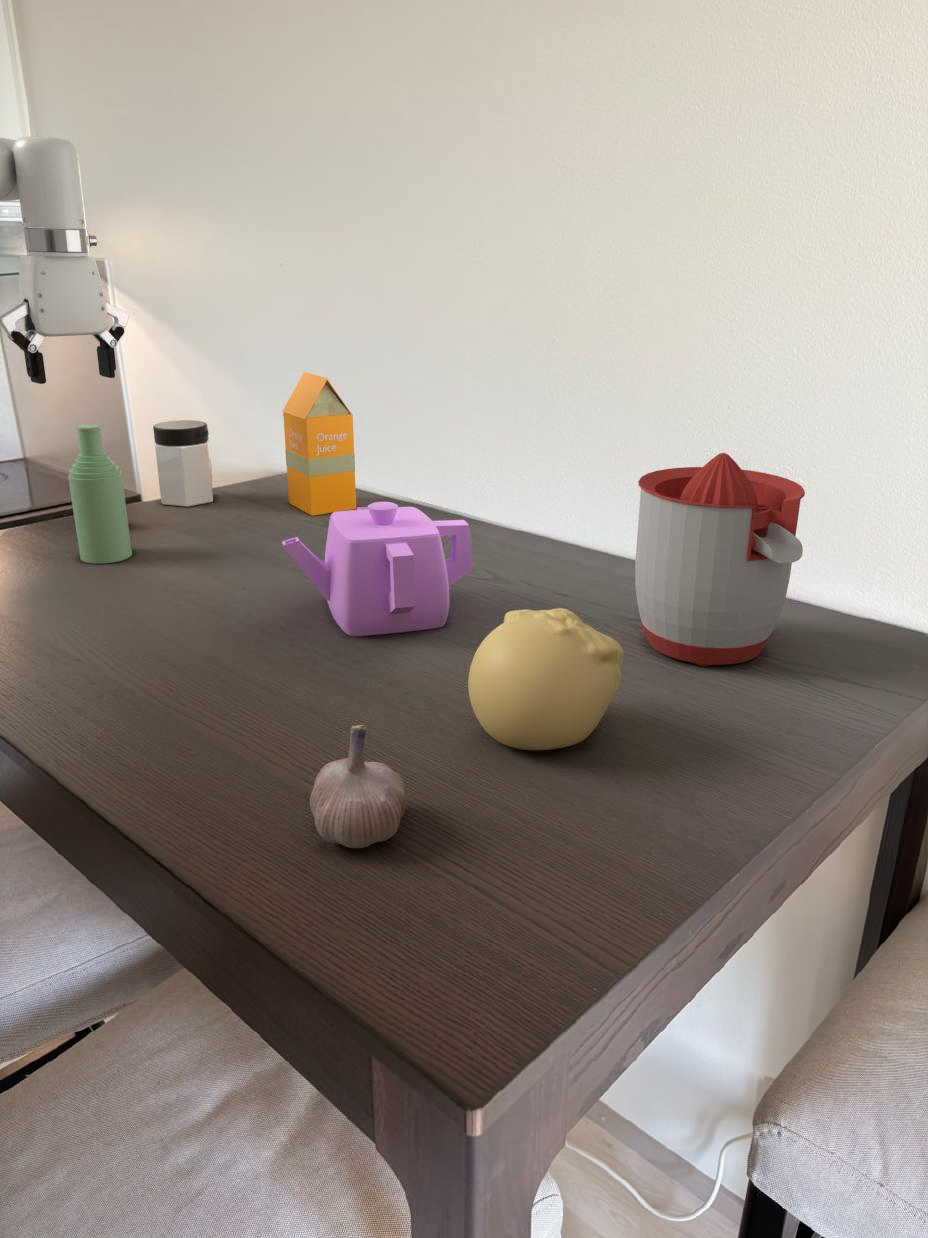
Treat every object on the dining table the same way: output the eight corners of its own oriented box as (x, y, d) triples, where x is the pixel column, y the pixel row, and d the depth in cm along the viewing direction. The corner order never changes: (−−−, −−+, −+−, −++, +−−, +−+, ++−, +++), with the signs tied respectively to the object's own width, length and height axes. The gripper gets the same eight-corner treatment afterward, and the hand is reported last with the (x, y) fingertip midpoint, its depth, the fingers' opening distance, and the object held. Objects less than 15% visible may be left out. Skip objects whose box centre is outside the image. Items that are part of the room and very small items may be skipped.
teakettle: (412, 652, 96) (410, 534, 92) (277, 622, 104) (269, 512, 99) (487, 600, 110) (488, 496, 106) (363, 577, 118) (360, 478, 113)
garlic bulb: (364, 787, 72) (361, 692, 70) (435, 824, 68) (434, 724, 65) (286, 830, 67) (278, 729, 64) (357, 873, 63) (352, 766, 60)
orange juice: (332, 496, 155) (326, 370, 147) (357, 508, 148) (352, 376, 140) (287, 503, 151) (279, 373, 143) (310, 515, 144) (303, 380, 136)
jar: (214, 505, 149) (207, 428, 145) (159, 508, 147) (150, 430, 143) (214, 492, 157) (208, 418, 153) (163, 494, 155) (155, 420, 151)
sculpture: (637, 732, 81) (647, 614, 77) (541, 783, 73) (546, 654, 69) (537, 689, 89) (541, 579, 85) (441, 731, 81) (441, 612, 77)
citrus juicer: (714, 698, 87) (738, 482, 80) (596, 634, 101) (607, 446, 94) (830, 662, 94) (862, 462, 87) (705, 608, 108) (723, 431, 101)
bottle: (70, 561, 123) (49, 429, 117) (98, 547, 129) (80, 420, 122) (114, 565, 122) (96, 431, 115) (141, 550, 127) (125, 422, 121)
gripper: (106, 244, 131) (119, 371, 138) (-24, 242, 120) (-3, 381, 126) (133, 245, 127) (146, 377, 133) (1, 243, 115) (22, 388, 121)
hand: (73, 379), depth 129 cm, fingers open, 9 cm apart
